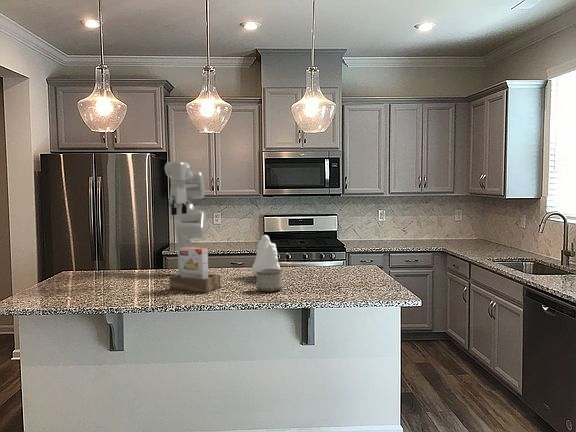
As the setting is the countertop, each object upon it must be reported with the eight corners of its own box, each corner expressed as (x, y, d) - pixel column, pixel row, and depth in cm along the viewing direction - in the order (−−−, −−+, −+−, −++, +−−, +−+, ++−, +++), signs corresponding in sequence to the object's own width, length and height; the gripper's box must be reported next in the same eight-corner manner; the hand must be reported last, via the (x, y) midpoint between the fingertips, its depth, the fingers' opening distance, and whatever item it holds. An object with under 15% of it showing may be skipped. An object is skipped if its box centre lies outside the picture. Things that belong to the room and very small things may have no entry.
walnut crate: (185, 285, 279) (185, 272, 279) (220, 288, 271) (220, 274, 270) (170, 290, 267) (169, 277, 266) (206, 293, 258) (206, 279, 258)
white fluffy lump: (251, 275, 307) (250, 234, 305) (277, 274, 309) (276, 233, 308) (255, 283, 282) (254, 238, 280) (283, 282, 285) (283, 237, 283)
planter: (258, 293, 256) (258, 273, 255) (255, 288, 268) (254, 269, 267) (283, 292, 258) (283, 271, 257) (279, 287, 271) (278, 267, 270)
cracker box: (180, 287, 269) (179, 248, 267) (187, 285, 274) (186, 246, 273) (202, 289, 263) (201, 249, 261) (209, 287, 268) (208, 247, 267)
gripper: (181, 183, 297) (182, 213, 298) (163, 184, 281) (164, 215, 282) (192, 183, 294) (193, 213, 295) (174, 183, 278) (175, 215, 279)
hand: (179, 214), depth 289 cm, fingers open, 9 cm apart
